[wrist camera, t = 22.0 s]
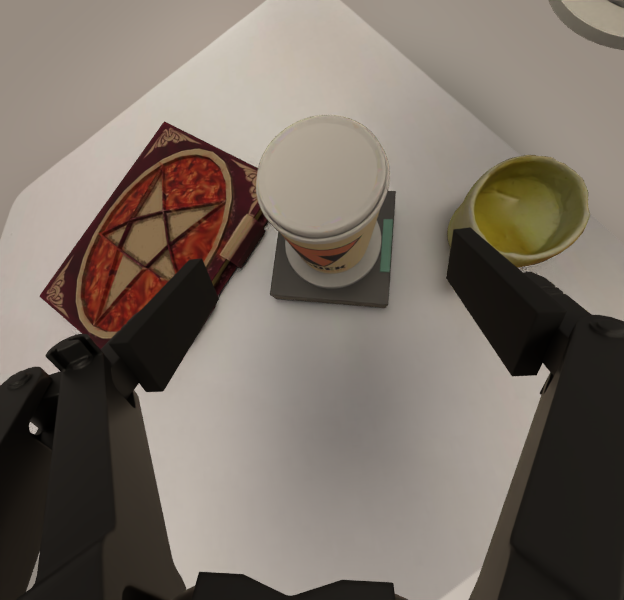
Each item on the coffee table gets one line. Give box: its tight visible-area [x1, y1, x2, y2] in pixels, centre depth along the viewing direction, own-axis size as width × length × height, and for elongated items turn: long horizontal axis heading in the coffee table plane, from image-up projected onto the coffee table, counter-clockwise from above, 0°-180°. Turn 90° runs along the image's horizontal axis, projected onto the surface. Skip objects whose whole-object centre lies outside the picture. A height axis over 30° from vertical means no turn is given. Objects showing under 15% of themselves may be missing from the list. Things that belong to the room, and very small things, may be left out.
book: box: [40, 122, 268, 349], centre depth 34 cm, size 28×21×5 cm
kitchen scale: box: [270, 191, 396, 308], centre depth 31 cm, size 13×13×3 cm
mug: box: [447, 155, 590, 267], centre depth 27 cm, size 12×10×10 cm
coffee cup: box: [256, 115, 390, 274], centre depth 24 cm, size 9×9×12 cm
